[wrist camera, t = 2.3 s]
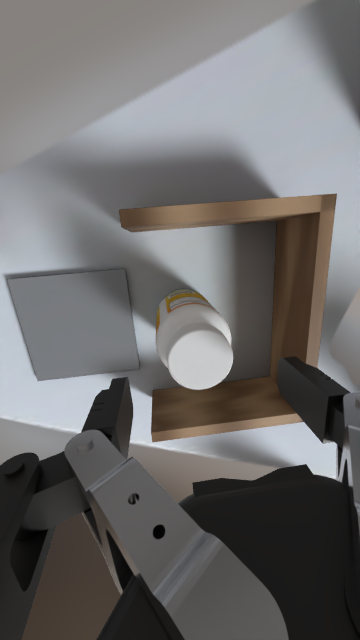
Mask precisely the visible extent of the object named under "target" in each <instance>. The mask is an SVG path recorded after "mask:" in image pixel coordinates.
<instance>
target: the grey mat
mask: <svg viewBox="0 0 360 640" xmlns="http://www.w3.org/2000/svg"><path fill="white" fill-rule="evenodd" d="M7 281H8V285H9V288H10V291H11V294H12V298H13V301H14V304H15V308H16V311H17V314H18V317H19V321H20V324H21V327H22V331H23V334H24V337H25V341H26V344H27V347H28V350H29V354H30V357H31V360H32V364H33V367H34V370H35V374H36V377H37V380H38V381H43V380H51V379H60V378H69V377H78V376H86V375H95V374H104V373H112V372H121V371H130V370H138V369H140V364H139V358H138V351H137V344H136V337H135V330H134V324H133V317H132V310H131V303H130V297H129V290H128V283H127V276H126V269H115V270H104V271H93V272H81V273H70V274H59V275H48V276H36V277H25V278H14V279H7Z"/></svg>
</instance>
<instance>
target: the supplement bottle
mask: <svg viewBox="0 0 360 640" xmlns="http://www.w3.org/2000/svg"><path fill="white" fill-rule="evenodd" d="M156 347H157V352H158V355H159V357H160V359H161V361H162V362H163V363H164V365H165V366H166V367H167V368H168V369H169V372H170V374H171V376H172V377H173V378H174V380H175V381H176V382H177V383H179V384H180V385H182V386H184V387H186V388H189V389H195V390H201V389H207V388H210V387H213V386H215V385H217V384H218V383H220V382H221V381H222V380H223V379H224V378H225V377H226V376H227V375H228V373H229V371H230V369H231V367H232V363H233V351H232V348H231V333H230V329H229V327H228V324H227V323H226V321H225V320H224V318H223V317H222V316H221V315H220V313H219V312H217V311H216V309H215V308H214V307H213V306H212V305H211V304H210V303H209V302H208V301H207V300H206V299H205V298H204V297H203V296H202V295H201V294H199V293H198V292H196V291H193V290H188V289H181V290H176V291H174V292H171V293H170V294H168V295H167V296H166V297H165V298H164V299H163V300H162V301H161V302H160V304H159V306H158V309H157V314H156Z"/></svg>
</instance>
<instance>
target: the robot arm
mask: <svg viewBox="0 0 360 640" xmlns="http://www.w3.org/2000/svg"><path fill="white" fill-rule="evenodd" d="M278 389H279V392H280V394H281V396H282V397H283V398H284V399H285V400H286V401H287V403H288V404H289V405H290V406H291V407H292V408H293V410H294V411H295V412H296V413H297V414H298V415H299V417H300V418H301V419H302V420H303V421H304V422H305V423H306V425H307V426H308V427H309V428H310V429H311V430H312V432H313V433H314V434H315V435H316V436H317V437H318V438H319V440H320V441H321V442H322V443H323V444H324V443H330V442H335V443H336V444H337V448H336V480H334V479H332V478H328V477H325V476H320V475H313V473H312V472H311V471H310V469H309V468H308V466H307V465H306V464H305V465H299V466H293V467H287V468H280V469H277V470H275V471H273V472H271V473H269V474H267V475H265V476H263V477H261V478H258V479H256V480H253V481H249V480H237V479H226V478H220V479H214V480H207V481H201V482H194V483H193V493H194V494H192V495H190V496H188V497H186V498H185V499H183V500H182V501H180V502H179V503H177V502H176V501H175V500H174V499H173V498H172V497H171V496H170V495H169V494H168V493H167V492H166V491H165V490H164V489H163V488H162V486H161V485H160V484H159V483H158V482H157V481H156V480H155V479H154V478H153V477H152V476H151V475H150V474H149V472H148V471H147V470H146V469H145V468H144V467H143V466H142V465H141V464H140V463H139V462H138V461H137V460H136V459H135V458H133V457H131V458H130V459H128V460H127V456H128V448H129V442H130V434H131V427H132V419H133V403H132V397H131V391H130V385H129V380H128V377H123V378H115V379H112V381H111V385H110V388H109V389H107V390H102V391H101V392H100V393H99V394H98V395H97V396H96V397H95V400H94V402H93V406H92V407H91V409H90V412H89V414H88V417H87V419H86V422H85V424H84V427H83V429H82V432H81V433H79V434H77V435H76V436H74V437H73V438H72V439H71V440H70V441H69V442H68V443H67V445H66V447H65V450H64V451H63V452H62V453H59V454H57V455H54V456H52V457H49V458H47V459H44V460H41V461H39V458H38V456H37V455H36V454H34V453H23V454H19V455H17V456H14V457H12V458H11V459H9V460H7V461H6V462H4V463H3V464H2V465H0V640H22V637H23V633H24V630H25V627H26V624H27V620H28V617H29V613H30V610H31V607H32V603H33V600H34V597H35V594H36V591H37V587H38V584H39V581H40V578H41V574H42V571H43V568H44V564H45V561H46V558H47V554H48V551H49V548H50V545H51V541H52V538H53V535H54V532H55V528H56V525H57V524H59V523H61V522H63V521H64V520H67V519H69V518H71V517H73V516H75V515H77V514H79V513H81V512H82V514H83V516H84V518H85V520H86V522H87V523H88V526H89V527H90V529H91V531H92V533H93V535H94V537H95V539H96V541H97V543H98V545H99V547H100V549H101V551H102V553H103V555H104V557H105V560H106V562H107V565H108V567H109V570H110V572H111V575H112V577H113V579H114V581H115V584H116V586H117V588H118V590H119V592H120V594H121V597H120V599H119V600H118V602H117V604H116V606H115V607H114V609H113V611H112V613H111V615H110V616H109V618H108V620H107V622H106V623H105V625H104V627H103V629H102V631H101V633H100V634H99V636H98V638H97V639H96V640H360V393H351V392H349V391H348V390H346V389H345V388H344V387H342V386H341V385H340V384H338V383H337V382H335V381H334V380H333V379H331V378H330V377H329V376H327V375H325V374H324V373H323V372H322V371H320V370H319V369H318V368H316V367H313V366H311V365H309V364H305V363H304V362H303V361H301V360H300V359H299V358H297V357H296V356H290V357H282V358H280V359H279V362H278Z"/></svg>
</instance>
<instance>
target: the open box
mask: <svg viewBox="0 0 360 640" xmlns="http://www.w3.org/2000/svg"><path fill="white" fill-rule="evenodd" d="M336 196H337V194H326V195H312V196H299V197H285V198H271V199H257V200H244V201H230V202H216V203H203V204H189V205H175V206H161V207H148V208H134V209H120V210H119V214H120V221H121V227H122V228H124V229H126V230H128V231H130V232H142V231H155V230H167V229H180V228H193V227H205V226H218V225H230V224H243V223H256V222H268V221H277V226H276V249H275V272H274V295H273V318H272V341H271V364H270V376H269V377H261V378H253V379H245V380H236V381H228V382H220V383H218V384H217V385H215V386H213V387H210V388H207V389H201V390H195V389H189V388H186V387H178V388H170V389H162V390H154V391H153V395H152V424H151V435H152V442H158V441H165V440H173V439H180V438H188V437H195V436H202V435H210V434H217V433H225V432H232V431H240V430H247V429H254V428H262V427H269V426H277V425H284V424H292V423H299V422H304V421H303V420H302V419H301V418H300V417H299V415H298V414H297V413H296V412H295V411H294V410H293V408H292V407H291V406H290V405H289V404H288V403H287V401H286V400H285V399H284V398H283V397H282V396H281V394H280V392H279V389H278V362H279V359H280V358H282V357H290V356H296V357H297V358H299V359H300V360H301V361H303V362H304V363H305V364H309V365H311V366H313V367H316V368H317V366H318V357H319V348H320V339H321V330H322V321H323V312H324V303H325V294H326V286H327V277H328V268H329V259H330V250H331V241H332V232H333V223H334V214H335V205H336Z"/></svg>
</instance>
